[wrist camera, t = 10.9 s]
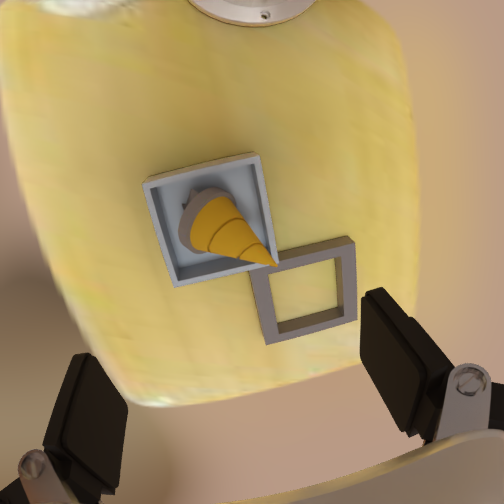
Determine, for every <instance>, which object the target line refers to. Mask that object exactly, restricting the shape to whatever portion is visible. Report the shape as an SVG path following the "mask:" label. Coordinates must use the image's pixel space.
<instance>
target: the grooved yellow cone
mask: <svg viewBox="0 0 504 504" xmlns="http://www.w3.org/2000/svg"><path fill="white" fill-rule="evenodd" d="M181 204H182V207H183V210H184V212H183V214H182V216H181V219H180V222H179V227H178V237H179V240H180V242H181V244H182V245H183V246H185V247H186V248H187V249H189V250H190V251H191V252H193V253H195V254H203V253H206V252H210V253H214V254H219V255H223V256H228V257H232V258H238V257H240V258H239V259H241V260H245V261H250V262H254V263H259V264H263V265H268V264H269V265H270V266H272V267H277V266H278V265H277V264H276V262H275V261H274V259H273V258H272V257H271V255H270V254H269V252H268V251H267V250H266V248H265V247H264V245H263V244H262V243H261V241H260V240H259V238H258V237H257V236H256V234H255V233H254V232H253V230H252V229H251V227H250V226H249V225H248V223H247V222H246V220H245V219H244V218H243V216H242V215H241V214H240V212H239V211H238V209H237V207H236V201H235V198H234V197H233V195H231V194H230V193H228V192H227V191H225V190H223V189H221V188H218V187H211V188H207V189H205V190H203V191H202V192H200V193H198V192H196V191H195V190H193V189H191V190H190V193H189V197H188V200H187V203H186V204H183V203H181Z"/></svg>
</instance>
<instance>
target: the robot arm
mask: <svg viewBox="0 0 504 504" xmlns="http://www.w3.org/2000/svg"><path fill="white" fill-rule="evenodd" d="M188 1H189V2H190V3H191V4H192V5H194V6H195V7H196V8H197V9H198V10H200V11H201V12H203V13H205V14H207V15H208V16H210V17H212V18H214V19H217V20H220V21H223V22H225V23H230V24H235V25H239V26H252V27H257V26H270V25H274V24H279V23H283V22H285V21H288V20H290V19H293V18H295V17H297V16H298V15H300V14H301V13H303V12H305V11H306V10H307V9H308V8H309V7H310V6H311V5H312V4H313V3H314V2H315V0H188ZM261 16H265V17H266V18H267V19H263V18H261ZM360 358H361V361H362V363H363V365H364V367H365V368H366V370H367V372H368V374H369V375H370V377H371V379H372V381H373V383H374V384H375V386H376V388H377V390H378V391H379V393H380V395H381V397H382V399H383V401H384V402H385V404H386V406H387V408H388V410H389V411H390V413H391V415H392V417H393V419H394V421H395V423H396V424H397V426H398V428H399V430H400V431H401V432H404V431H405V432H406V433H407V435H408V437H409V438H410V437H412V436H414V435H416V434H418V433H419V435H420V437H421V438H422V439H424V441H423V445H422V447H420V448H418V449H415V450H413V451H410V452H408V453H406V454H403V455H401V456H399V457H396V458H393V459H391V460H388V461H386V462H383V463H381V464H378V465H375V466H373V467H370V468H367V469H364V470H361V471H358V472H355V473H352V474H350V475H346V476H343V477H340V478H337V479H334V480H331V481H327V482H324V483H320V484H316V485H313V486H309V487H305V488H301V489H297V490H293V491H289V492H284V493H279V494H274V495H270V496H264V497H259V498H253V499H247V500H240V501H234V502H226V503H218V504H504V384H499V383H494V382H491V378H490V376H489V374H488V372H487V371H486V370H485V369H484V368H483V367H481V366H479V365H476V364H472V363H465V364H462V365H458V366H457V367H454V365H453V364H452V363H451V362H450V360H449V359H448V358H447V357H446V355H445V354H444V353H443V352H442V351H441V349H440V348H439V347H438V346H437V345H436V343H435V342H434V341H433V340H432V338H431V337H430V336H429V335H428V334H427V333H426V331H425V330H424V329H423V328H422V327H421V325H420V324H419V323H418V322H417V321H416V320H415V319H414V318H413V317H408V315H407V314H406V313H405V312H404V311H403V310H402V308H401V307H400V306H399V305H398V304H397V303H396V302H395V300H394V299H393V298H392V297H391V296H390V295H389V294H388V292H387V291H386V290H385V289H384V288H383V287H379V288H376V289H373V290H369V291H367V292H366V293H365V296H364V297H362V298H361V331H360ZM127 415H128V407H127V404H126V402H125V400H124V399H123V398H122V396H121V395H120V393H119V392H118V390H117V389H116V388H115V386H114V385H113V383H112V382H111V380H110V379H109V377H108V376H107V374H106V372H105V371H104V369H103V368H102V366H101V365H100V363H99V361H98V360H97V358H96V357H95V356H92V355H91V354H90V353H81V354H75V355H74V356H73V357H72V360H71V362H70V365H69V367H68V370H67V373H66V375H65V378H64V381H63V383H62V386H61V389H60V392H59V394H58V397H57V400H56V403H55V406H54V409H53V412H52V415H51V418H50V421H49V424H48V427H47V430H46V434H45V437H44V441H43V444H42V445H43V446H44V447H45V448H44V452H43V451H42V450H38V449H33V450H30V451H28V452H26V453H25V454H24V455H23V456H22V458H21V459H20V461H19V464H18V474H19V478H17V479H16V480H15V481H13V482H12V483H11V484H9V485H8V486H7V487H5V488H4V489H3V490H1V491H0V504H104V503H103V502H102V501H101V499H100V498H101V494H106V495H115V488H117V487H118V486H119V479H120V469H121V460H122V452H123V444H124V436H125V428H126V422H127Z"/></svg>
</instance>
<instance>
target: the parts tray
mask: <svg viewBox="0 0 504 504" xmlns="http://www.w3.org/2000/svg"><path fill="white" fill-rule="evenodd" d="M142 187H143V191H144V194H145V198H146V201H147V205H148V208H149V212H150V215H151V218H152V222H153V225H154V228H155V231H156V235H157V238H158V241H159V244H160V247H161V250H162V254H163V257H164V260H165V263H166V266H167V269H168V272H169V275H170V278H171V280H172V283H173V286H174V288H176V287H180V286H184V285H189V284H193V283H197V282H202V281H206V280H210V279H215V278H219V277H223V276H228V275H232V274H236V273H240V272H244V271H249V270H253V269H257V268H261V267H265V266H270V265H269V264H268V265H263V264H259V263H254V262H250V261H245V260H241V259H239V258H240V257H238V258H232V257H228V256H223V255H219V254H214V253H210V252H206V253H203V254H195V253H193V252H191V251H190V250H189V249H187V248H186V247H185V246H183V245H182V244H181V242H180V240H179V237H178V227H179V222H180V219H181V216H182V214H183V212H184V210H183V207H182V204H181V203H183V204H186V203H187V200H188V197H189V193H190V190H191V189H193V190H195V191H196V192H198V193H200V192H202V191H203V190H205V189H207V188H211V187H218V188H221V189H223V190H225V191H227V192H228V193H230V194H231V195H233V197H234V198H235V201H236V207H237V209H238V211H239V212H240V214H241V215H242V216H243V218H244V219H245V220H246V222H247V223H248V225H249V226H250V227H251V229H252V230H253V232H254V233H255V234H256V236H257V237H258V238H259V240H260V241H261V243H262V244H263V245H264V247H265V248H266V250H267V251H268V252H269V254H270V255H271V257H272V258H273V259H274V261H275V262H276V264H278V263H279V259H278V253H277V248H276V242H275V236H274V230H273V225H272V219H271V214H270V208H269V202H268V197H267V192H266V186H265V181H264V175H263V170H262V165H261V159H260V155H258V154H256V153H255V152H250V153H245V154H240V155H235V156H231V157H226V158H222V159H217V160H213V161H208V162H204V163H200V164H196V165H192V166H188V167H184V168H180V169H176V170H172V171H168V172H165V173H161V174H157V175H154V176H150V177H148V178H147V179H146V180H145V181H144V182H143V183H142Z"/></svg>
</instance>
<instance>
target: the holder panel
mask: <svg viewBox="0 0 504 504" xmlns="http://www.w3.org/2000/svg"><path fill="white" fill-rule="evenodd" d="M332 258H335V267H336V281H337V297H338V307H336V308H333V309H329V310H326V311H322V312H319V313H315V314H312V315H308V316H304V317H300V318H297V319H293V320H289V321H285V322H281V323H277V321H276V316H275V311H274V305H273V300H272V295H271V290H270V284H269V279H268V274H271V273H276V272H280V271H284V270H288V269H292V268H296V267H300V266H304V265H308V264H312V263H316V262H320V261H324V260H328V259H332ZM278 259H279V263H278V264H277V265H278V266H277V267H272V266H265V267H261V268H257V269H253V270H249V274H250V279H251V284H252V288H253V292H254V297H255V301H256V306H257V310H258V315H259V319H260V324H261V328H262V333H263V337H264V340H265V344H266V345H269V344H273V343H277V342H281V341H285V340H289V339H292V338H296V337H300V336H304V335H307V334H311V333H314V332H318V331H321V330H325V329H328V328H332V327H335V326H338V325H342V324H345V323H348V322H352V321H355V320H357V274H356V251H355V242H354V241H353V240H351V239H350V238H349V237H348V236H344V237H340V238H336V239H332V240H328V241H324V242H320V243H315V244H311V245H307V246H303V247H299V248H294V249H290V250H286V251H282V252H278Z"/></svg>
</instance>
